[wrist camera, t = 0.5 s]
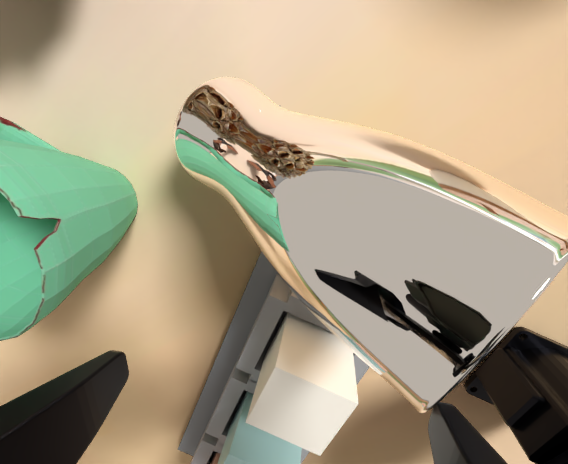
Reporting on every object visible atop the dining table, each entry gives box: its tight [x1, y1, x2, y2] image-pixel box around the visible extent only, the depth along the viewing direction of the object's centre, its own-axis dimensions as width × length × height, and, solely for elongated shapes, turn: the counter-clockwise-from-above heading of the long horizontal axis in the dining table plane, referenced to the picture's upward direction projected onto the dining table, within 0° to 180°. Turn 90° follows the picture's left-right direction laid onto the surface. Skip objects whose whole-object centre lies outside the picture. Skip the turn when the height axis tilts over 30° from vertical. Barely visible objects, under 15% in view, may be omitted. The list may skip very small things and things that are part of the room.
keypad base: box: [178, 251, 369, 464], centre depth 23 cm, size 11×24×4 cm, turn 157°
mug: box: [0, 117, 138, 341], centre depth 17 cm, size 15×10×10 cm
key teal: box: [217, 391, 302, 464], centre depth 20 cm, size 4×4×5 cm
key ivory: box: [245, 312, 358, 456], centre depth 17 cm, size 4×4×5 cm
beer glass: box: [173, 77, 568, 413], centre depth 12 cm, size 7×7×15 cm
